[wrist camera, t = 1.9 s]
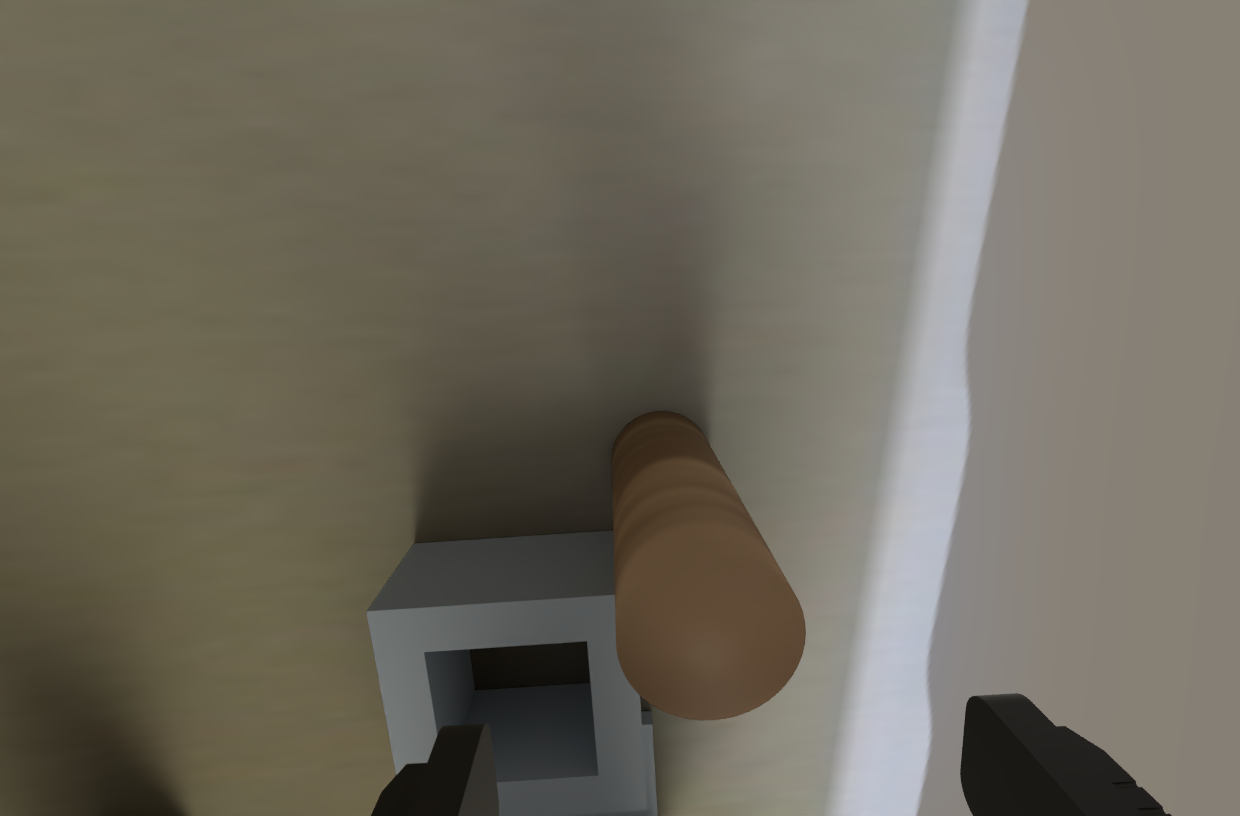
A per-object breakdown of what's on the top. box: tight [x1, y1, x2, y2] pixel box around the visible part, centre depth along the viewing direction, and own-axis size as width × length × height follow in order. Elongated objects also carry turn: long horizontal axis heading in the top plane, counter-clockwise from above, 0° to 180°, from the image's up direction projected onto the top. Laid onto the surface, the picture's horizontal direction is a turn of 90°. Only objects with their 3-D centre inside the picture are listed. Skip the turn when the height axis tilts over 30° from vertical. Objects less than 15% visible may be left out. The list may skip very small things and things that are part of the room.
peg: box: [612, 411, 806, 720], centre depth 18 cm, size 4×4×12 cm
